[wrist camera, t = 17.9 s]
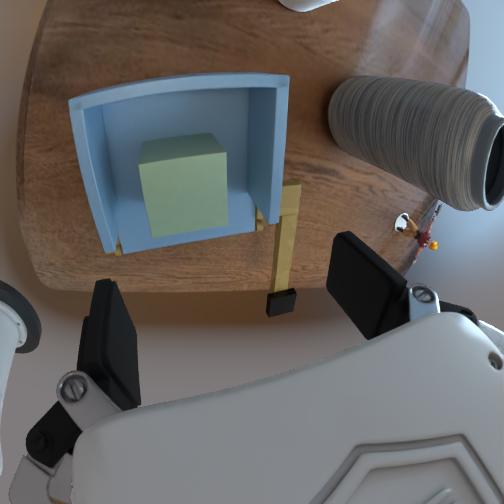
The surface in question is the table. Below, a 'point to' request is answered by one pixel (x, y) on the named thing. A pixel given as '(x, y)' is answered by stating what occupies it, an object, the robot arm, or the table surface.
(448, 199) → the vase
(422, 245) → the action figure
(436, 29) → the table surface
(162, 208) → the block
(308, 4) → the can
